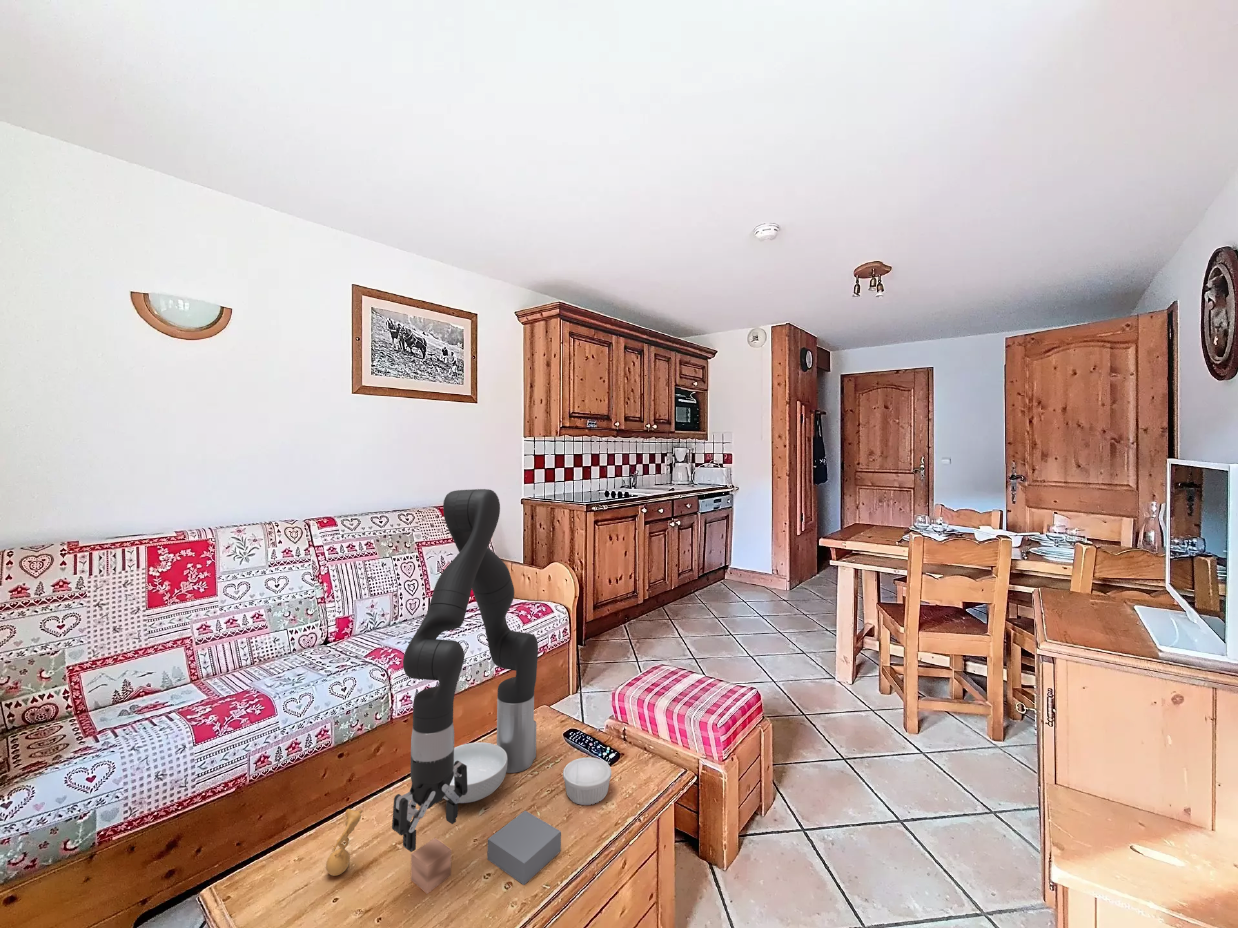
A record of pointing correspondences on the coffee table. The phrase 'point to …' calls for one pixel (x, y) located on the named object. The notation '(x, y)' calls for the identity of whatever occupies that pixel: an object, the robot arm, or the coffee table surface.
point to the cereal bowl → (481, 769)
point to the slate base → (524, 846)
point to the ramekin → (587, 780)
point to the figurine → (343, 846)
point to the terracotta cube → (430, 865)
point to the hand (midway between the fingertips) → (431, 834)
